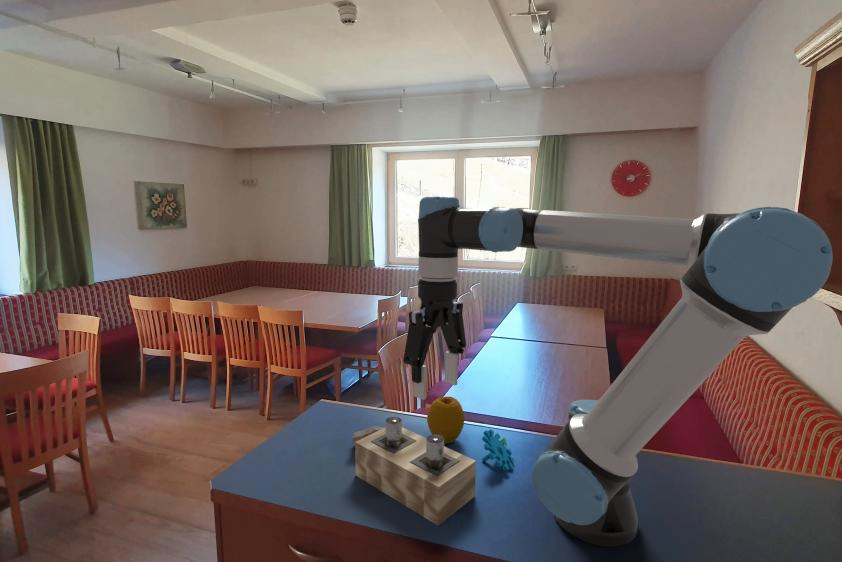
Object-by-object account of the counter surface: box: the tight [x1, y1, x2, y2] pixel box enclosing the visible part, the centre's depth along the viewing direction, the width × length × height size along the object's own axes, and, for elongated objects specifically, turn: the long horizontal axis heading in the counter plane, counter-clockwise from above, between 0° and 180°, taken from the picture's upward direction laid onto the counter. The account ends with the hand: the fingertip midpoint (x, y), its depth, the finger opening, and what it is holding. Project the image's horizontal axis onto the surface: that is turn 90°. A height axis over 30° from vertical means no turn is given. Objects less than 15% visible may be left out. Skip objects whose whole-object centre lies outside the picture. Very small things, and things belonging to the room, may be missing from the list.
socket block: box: [354, 426, 477, 526], centre depth 96 cm, size 24×12×8 cm, turn 48°
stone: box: [351, 425, 384, 447], centre depth 111 cm, size 10×8×6 cm
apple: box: [426, 396, 466, 445], centre depth 115 cm, size 10×10×12 cm
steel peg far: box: [384, 416, 403, 449], centre depth 99 cm, size 4×4×8 cm
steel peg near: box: [425, 434, 445, 470], centre depth 91 cm, size 4×4×8 cm
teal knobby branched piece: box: [481, 428, 515, 472], centre depth 105 cm, size 11×6×10 cm
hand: (436, 390), depth 89 cm, fingers open, 9 cm apart
